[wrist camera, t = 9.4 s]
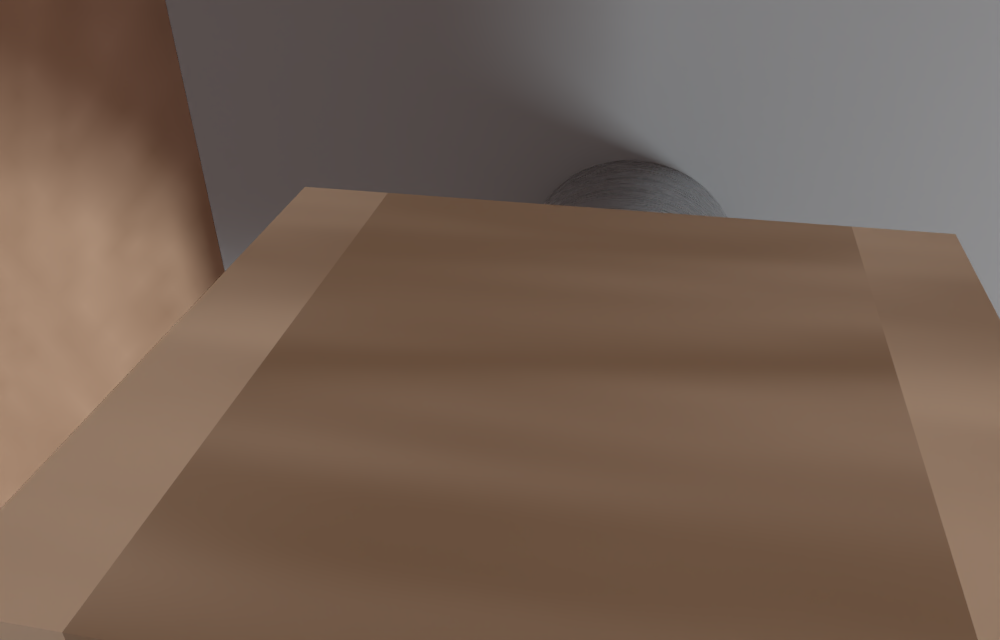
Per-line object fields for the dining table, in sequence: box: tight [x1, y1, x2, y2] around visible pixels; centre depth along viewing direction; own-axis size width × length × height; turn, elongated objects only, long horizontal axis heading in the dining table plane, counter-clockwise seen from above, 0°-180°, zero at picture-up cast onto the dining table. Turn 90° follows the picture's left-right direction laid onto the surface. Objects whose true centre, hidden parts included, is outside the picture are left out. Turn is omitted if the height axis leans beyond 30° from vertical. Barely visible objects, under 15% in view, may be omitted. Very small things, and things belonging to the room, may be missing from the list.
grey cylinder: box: [543, 160, 727, 217], centre depth 12 cm, size 4×4×7 cm
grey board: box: [165, 0, 1000, 319], centre depth 16 cm, size 18×16×2 cm
